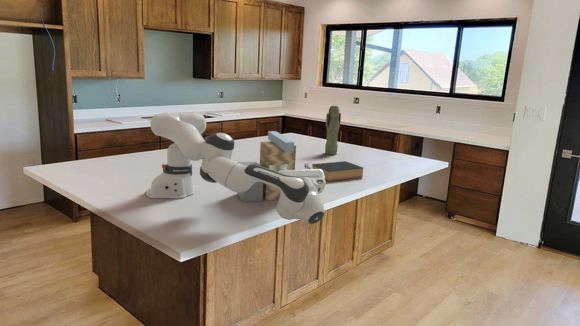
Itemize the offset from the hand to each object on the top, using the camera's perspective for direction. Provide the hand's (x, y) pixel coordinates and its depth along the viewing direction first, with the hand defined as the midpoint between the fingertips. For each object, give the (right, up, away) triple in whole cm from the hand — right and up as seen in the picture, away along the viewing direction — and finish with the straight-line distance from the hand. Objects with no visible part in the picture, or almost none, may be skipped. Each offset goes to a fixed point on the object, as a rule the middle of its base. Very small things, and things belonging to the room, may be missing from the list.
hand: (295, 164), depth 186 cm
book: (+25, -8, +72) cm, 77 cm away
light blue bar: (-7, +9, +20) cm, 23 cm away
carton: (-10, -15, +29) cm, 34 cm away
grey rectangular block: (-22, -16, +24) cm, 36 cm away
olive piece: (+27, +7, +134) cm, 137 cm away
